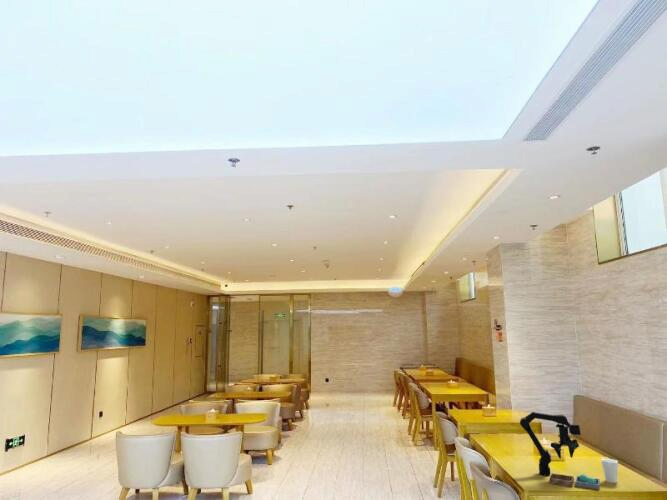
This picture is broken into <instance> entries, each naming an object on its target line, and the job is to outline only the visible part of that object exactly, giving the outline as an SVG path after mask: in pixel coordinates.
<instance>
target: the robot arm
mask: <svg viewBox="0 0 667 500" xmlns="http://www.w3.org/2000/svg"><path fill="white" fill-rule="evenodd" d="M535 419H538V420H544V421H545V420H546V421H551V422H554V423H557V424H556V425H555V427H556V428H558V433H559V434H557V435H558V437H559V441H558V442H555V441H554V442H550V447H551V448H552V449H553V450H554V451H555V453H556V454H557V456H558V458H559V459H560V460H561V459H562V452H561V451H562V447H568V452H569V456H570V458H572V459H573V457H574V456H573V455H574V453H575V450H576V449H578V448H579V447H580V444H579V442H578V440H577V439H571V436H581V429H580V425H579V424H571V423H570V422H569V421H568V417H567V416H566V415H565V414H547V413H541V412H536V411H531V412H530V413H529V414H527V415H526V416H525V417H521V418H520V420H519V425H520V426H521V428H523V429H524V431H525V432H526V433H527V434H528V436H529V438H530V439H531V441H532V443H533V445H535V447H536V449H537V450H538V453H539V455H540V458H539V459H538V475H539V474H541V476H546V475H547V477H549V476H551V467H550V465H549V464H551V462H552V454H551V453H550V452H549V449H546V448H544V447H543V445H542V444H541V442H540V440H539V439H538V437H537V435H536V434H535V432H534V430H533V428H532V426H531V423H532V422H533V421H534V420H535ZM569 434H571V436H570V435H569Z"/></svg>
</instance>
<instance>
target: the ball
mask: <svg viewBox="0 0 667 500" xmlns="http://www.w3.org/2000/svg"><path fill="white" fill-rule="evenodd" d="M578 476H579V479H580V481H581V482H584V483H586V482H587V480H588V478H589V477H588V476H587V475H585V474H582V473H581V474H580V475H578Z"/></svg>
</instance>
